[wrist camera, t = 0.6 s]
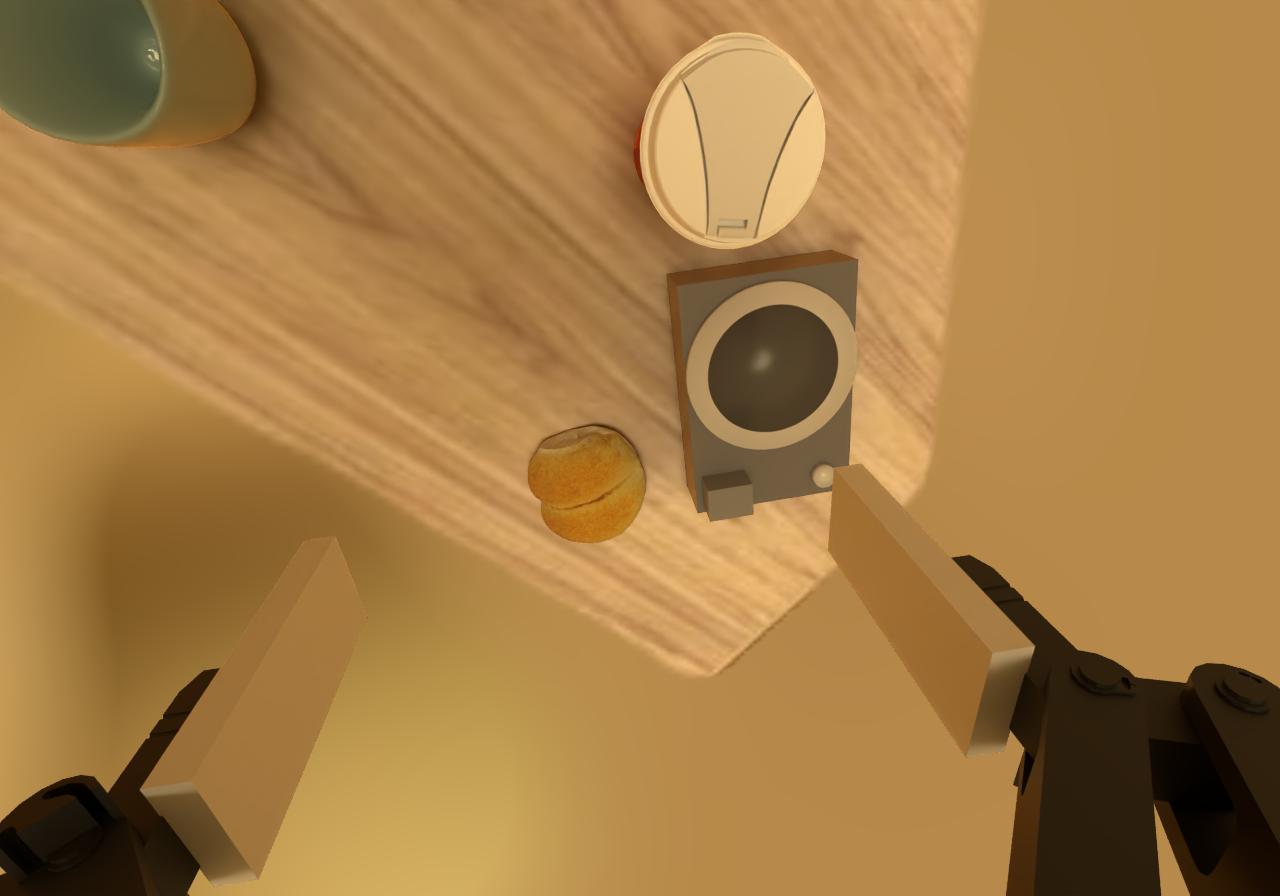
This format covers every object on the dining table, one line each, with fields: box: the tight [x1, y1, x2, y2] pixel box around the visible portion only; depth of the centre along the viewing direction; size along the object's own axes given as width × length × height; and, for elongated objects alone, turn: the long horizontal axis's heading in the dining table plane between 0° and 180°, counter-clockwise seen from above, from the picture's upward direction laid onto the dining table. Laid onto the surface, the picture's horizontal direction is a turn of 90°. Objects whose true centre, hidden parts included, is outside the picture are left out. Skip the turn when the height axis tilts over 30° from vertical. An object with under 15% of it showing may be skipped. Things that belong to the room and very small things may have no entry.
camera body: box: [667, 250, 858, 522], centre depth 40 cm, size 16×11×6 cm
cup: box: [0, 0, 256, 148], centre depth 27 cm, size 8×8×10 cm
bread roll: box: [528, 426, 646, 543], centre depth 43 cm, size 8×9×4 cm
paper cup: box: [634, 33, 826, 249], centre depth 29 cm, size 8×8×14 cm
